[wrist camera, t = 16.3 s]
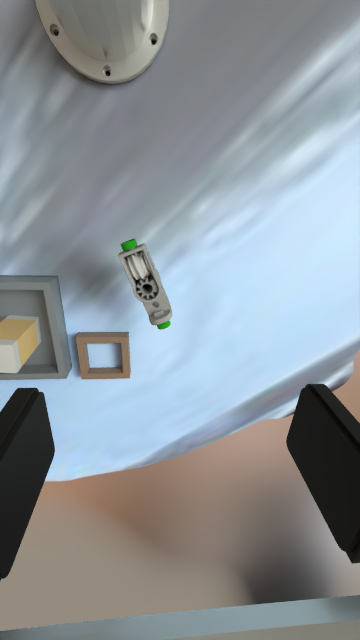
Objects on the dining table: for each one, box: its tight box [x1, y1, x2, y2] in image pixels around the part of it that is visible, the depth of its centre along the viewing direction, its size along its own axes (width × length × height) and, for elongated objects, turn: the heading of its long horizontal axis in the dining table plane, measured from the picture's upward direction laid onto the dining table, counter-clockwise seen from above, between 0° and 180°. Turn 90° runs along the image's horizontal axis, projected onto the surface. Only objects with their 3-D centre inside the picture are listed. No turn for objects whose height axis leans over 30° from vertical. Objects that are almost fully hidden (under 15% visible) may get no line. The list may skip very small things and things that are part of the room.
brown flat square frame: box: [76, 332, 131, 379], centre depth 42 cm, size 8×8×2 cm
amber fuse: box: [0, 315, 41, 373], centre depth 36 cm, size 4×4×8 cm
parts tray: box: [0, 275, 72, 380], centre depth 39 cm, size 15×11×3 cm
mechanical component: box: [118, 239, 172, 329], centre depth 33 cm, size 3×10×10 cm, turn 20°
